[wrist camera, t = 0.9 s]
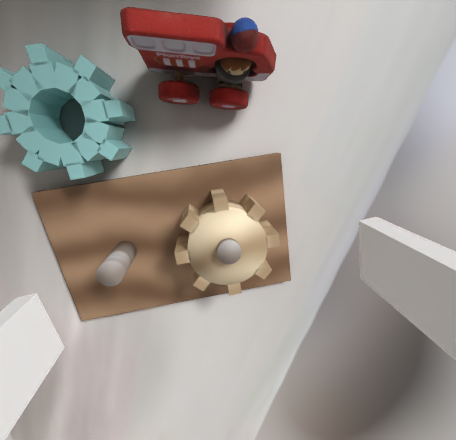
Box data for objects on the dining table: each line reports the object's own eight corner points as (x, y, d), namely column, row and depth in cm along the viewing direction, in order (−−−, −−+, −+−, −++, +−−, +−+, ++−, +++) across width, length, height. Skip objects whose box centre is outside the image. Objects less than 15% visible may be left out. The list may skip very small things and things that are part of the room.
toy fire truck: (259, 112, 29) (290, 96, 19) (147, 102, 27) (118, 78, 17) (266, 42, 27) (305, -17, 17) (146, 26, 25) (112, -49, 15)
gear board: (38, 191, 28) (-13, 206, 22) (277, 152, 30) (300, 155, 23) (85, 315, 34) (56, 358, 27) (287, 276, 35) (309, 307, 29)
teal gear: (7, 70, 25) (-38, 53, 20) (120, 55, 26) (102, 35, 21) (48, 180, 28) (17, 188, 24) (146, 165, 29) (136, 169, 24)
